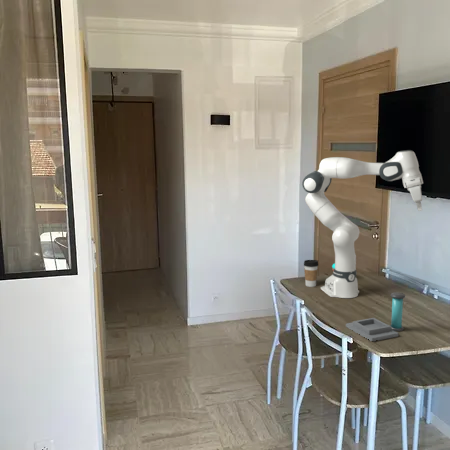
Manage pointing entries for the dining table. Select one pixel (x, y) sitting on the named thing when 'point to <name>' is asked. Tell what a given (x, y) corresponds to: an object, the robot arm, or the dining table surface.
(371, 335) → the board
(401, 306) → the teal and grey rod
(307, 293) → the dining table surface
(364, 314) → the dining table surface
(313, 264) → the coffee cup
